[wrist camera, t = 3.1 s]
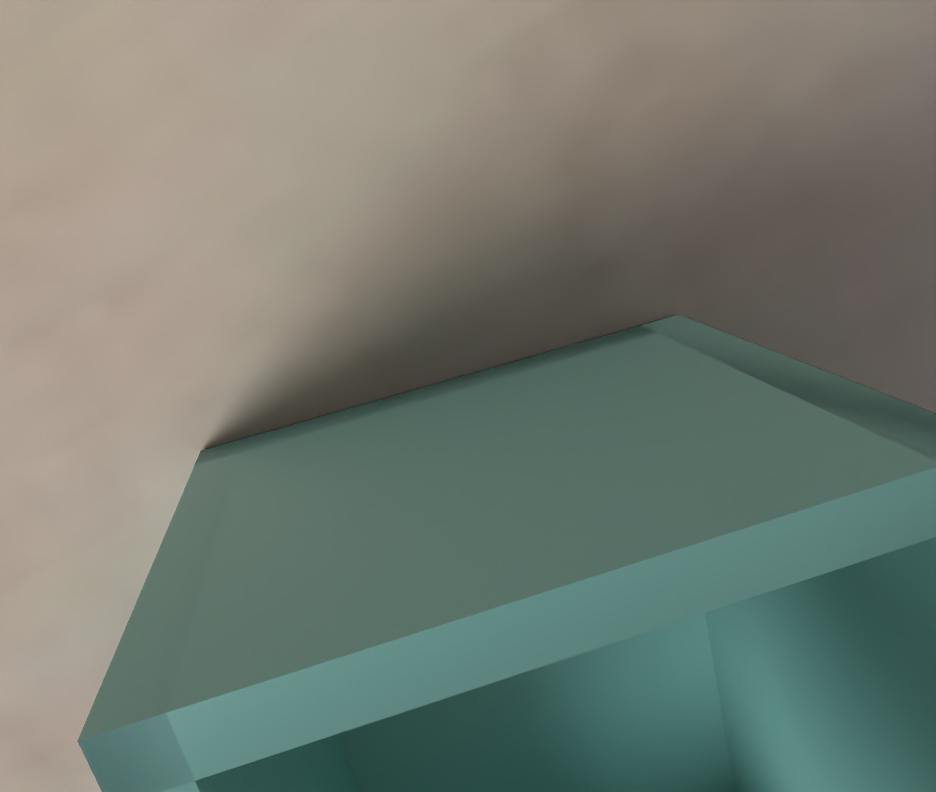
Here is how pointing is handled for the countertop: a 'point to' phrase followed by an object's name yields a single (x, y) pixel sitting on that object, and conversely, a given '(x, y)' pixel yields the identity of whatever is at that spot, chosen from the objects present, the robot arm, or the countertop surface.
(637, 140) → the countertop surface
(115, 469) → the countertop surface
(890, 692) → the small crate
